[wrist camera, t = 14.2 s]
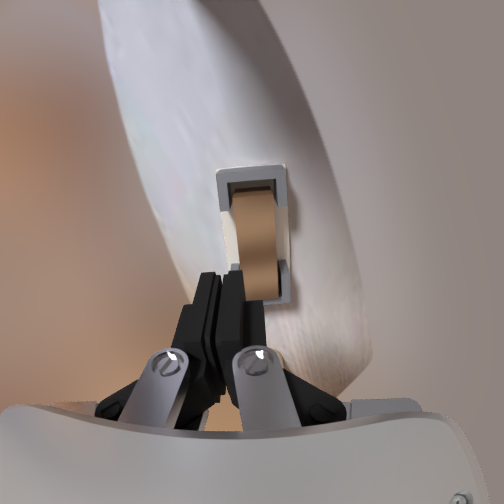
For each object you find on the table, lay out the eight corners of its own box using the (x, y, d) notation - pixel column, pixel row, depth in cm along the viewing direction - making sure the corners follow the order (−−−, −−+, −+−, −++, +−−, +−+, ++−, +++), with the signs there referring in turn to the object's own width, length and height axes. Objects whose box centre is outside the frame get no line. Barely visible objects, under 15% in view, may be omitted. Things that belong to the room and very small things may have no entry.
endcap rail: (216, 168, 31) (210, 174, 27) (284, 163, 31) (290, 168, 26) (231, 286, 38) (229, 307, 33) (289, 282, 37) (294, 302, 33)
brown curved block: (235, 188, 31) (232, 198, 27) (269, 185, 31) (272, 194, 27) (244, 279, 36) (244, 300, 32) (275, 277, 36) (278, 298, 31)
